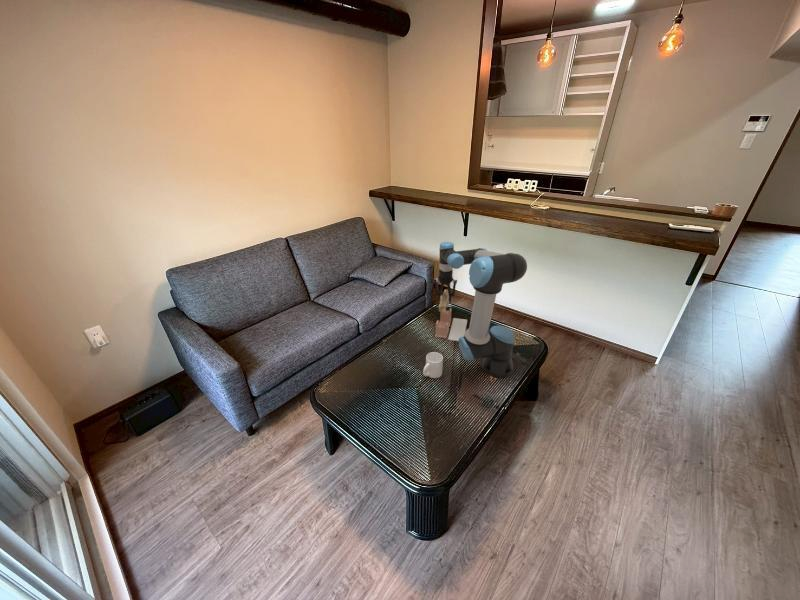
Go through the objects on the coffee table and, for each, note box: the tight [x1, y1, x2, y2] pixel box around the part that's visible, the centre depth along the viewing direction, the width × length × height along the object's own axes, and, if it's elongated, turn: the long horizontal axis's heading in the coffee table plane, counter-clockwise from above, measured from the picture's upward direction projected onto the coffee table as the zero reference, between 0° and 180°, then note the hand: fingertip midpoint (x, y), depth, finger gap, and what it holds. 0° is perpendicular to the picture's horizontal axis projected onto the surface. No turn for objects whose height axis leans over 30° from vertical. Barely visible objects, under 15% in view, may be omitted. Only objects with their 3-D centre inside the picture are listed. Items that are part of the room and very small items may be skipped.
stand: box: [434, 307, 453, 339], centre depth 188 cm, size 7×21×9 cm, turn 164°
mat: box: [447, 317, 468, 342], centre depth 187 cm, size 9×24×1 cm, turn 164°
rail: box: [438, 288, 449, 312], centre depth 180 cm, size 4×22×4 cm, turn 164°
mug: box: [422, 351, 444, 379], centre depth 151 cm, size 12×8×10 cm
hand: (444, 305), depth 182 cm, fingers closed on rail, 3 cm apart
